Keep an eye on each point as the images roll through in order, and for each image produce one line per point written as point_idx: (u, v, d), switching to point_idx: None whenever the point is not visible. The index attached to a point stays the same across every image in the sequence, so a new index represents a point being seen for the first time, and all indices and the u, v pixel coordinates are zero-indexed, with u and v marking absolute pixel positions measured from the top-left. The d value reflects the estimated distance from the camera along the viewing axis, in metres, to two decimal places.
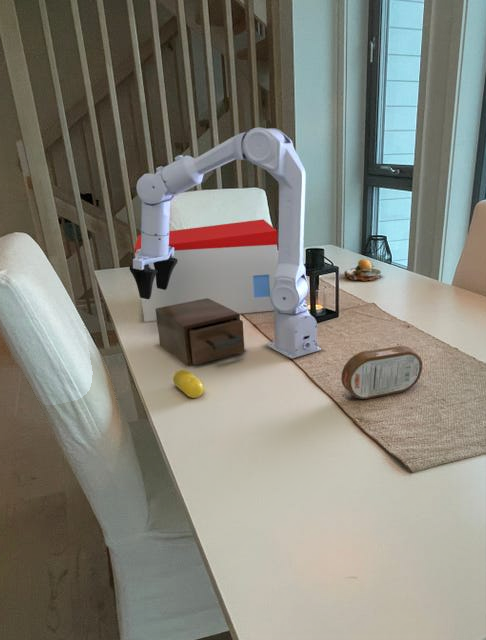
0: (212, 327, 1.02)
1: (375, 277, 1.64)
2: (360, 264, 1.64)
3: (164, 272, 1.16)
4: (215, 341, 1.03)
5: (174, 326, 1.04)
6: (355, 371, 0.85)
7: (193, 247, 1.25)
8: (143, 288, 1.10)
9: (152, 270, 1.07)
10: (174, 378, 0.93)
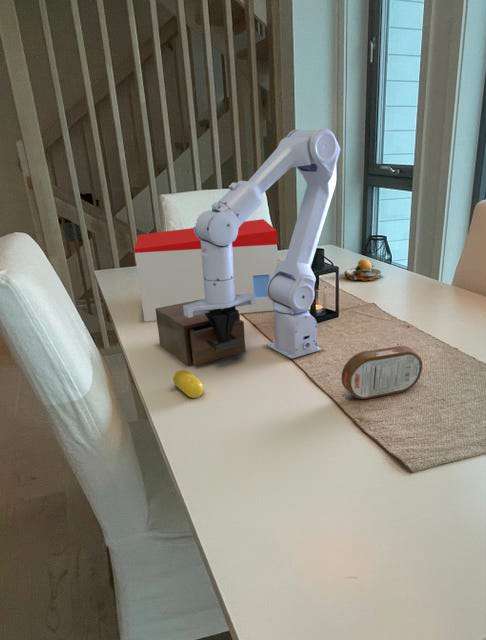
0: None
1: (375, 277, 1.64)
2: (360, 264, 1.64)
3: None
4: (216, 342, 1.02)
5: (174, 326, 1.04)
6: (355, 371, 0.85)
7: (193, 247, 1.25)
8: (218, 334, 1.00)
9: (220, 315, 0.97)
10: (174, 378, 0.93)
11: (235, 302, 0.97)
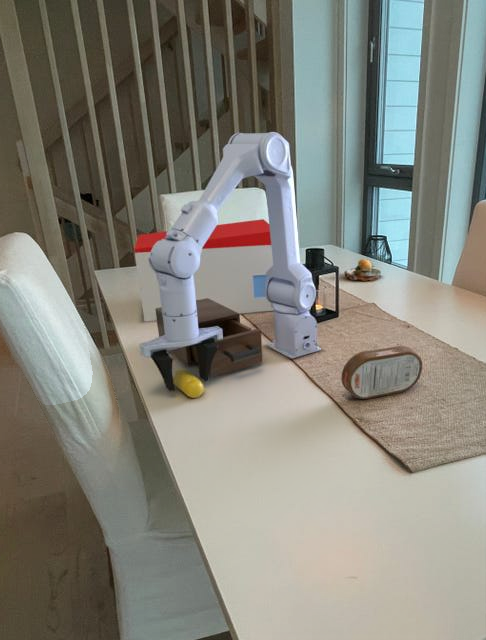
0: (229, 337, 0.96)
1: (375, 277, 1.64)
2: (360, 264, 1.64)
3: (203, 359, 0.92)
4: (232, 352, 0.97)
5: None
6: (355, 371, 0.85)
7: None
8: (165, 377, 0.89)
9: (165, 357, 0.85)
10: (174, 378, 0.93)
11: (198, 338, 0.87)
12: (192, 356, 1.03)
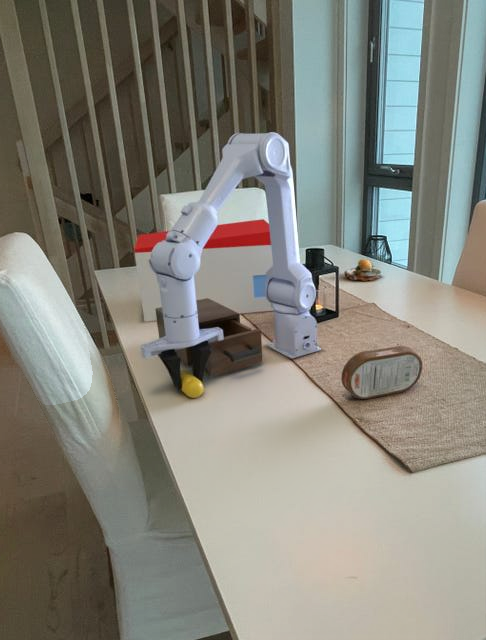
0: (229, 337, 0.96)
1: (375, 277, 1.64)
2: (360, 264, 1.64)
3: (196, 362, 0.91)
4: (232, 352, 0.97)
5: None
6: (355, 371, 0.85)
7: None
8: (173, 376, 0.90)
9: (173, 357, 0.86)
10: None
11: (199, 340, 0.88)
12: None
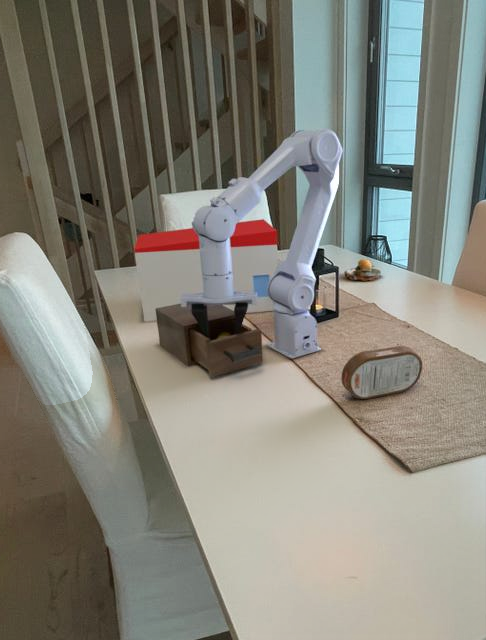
0: (230, 337, 0.96)
1: (375, 277, 1.64)
2: (360, 264, 1.64)
3: None
4: (233, 352, 0.97)
5: (174, 326, 1.04)
6: (355, 371, 0.85)
7: (193, 247, 1.25)
8: None
9: (198, 310, 0.97)
10: None
11: (227, 299, 0.96)
12: (192, 356, 1.03)
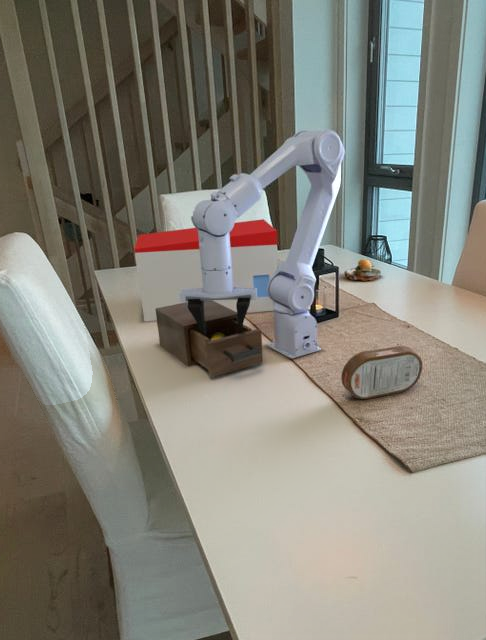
0: (230, 337, 0.96)
1: (375, 277, 1.64)
2: (360, 264, 1.64)
3: None
4: (233, 352, 0.97)
5: (174, 326, 1.04)
6: (355, 371, 0.85)
7: (193, 247, 1.25)
8: None
9: (194, 305, 0.96)
10: None
11: (227, 294, 0.95)
12: (192, 356, 1.03)
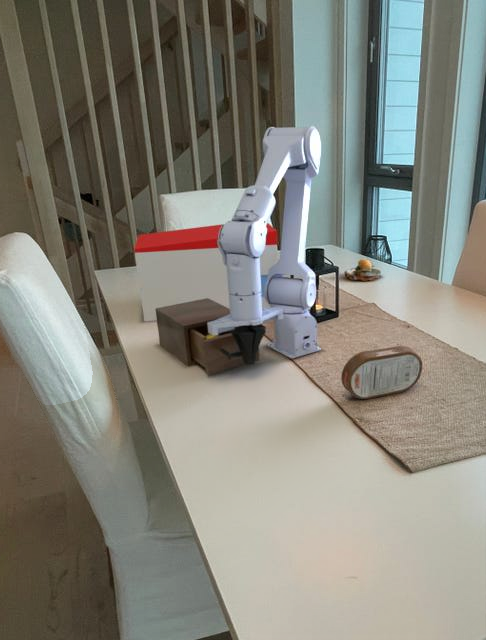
0: (227, 335, 0.97)
1: (375, 277, 1.64)
2: (360, 264, 1.64)
3: None
4: (230, 350, 0.98)
5: (174, 326, 1.04)
6: (355, 371, 0.85)
7: (193, 247, 1.25)
8: None
9: None
10: None
11: None
12: (190, 354, 1.04)
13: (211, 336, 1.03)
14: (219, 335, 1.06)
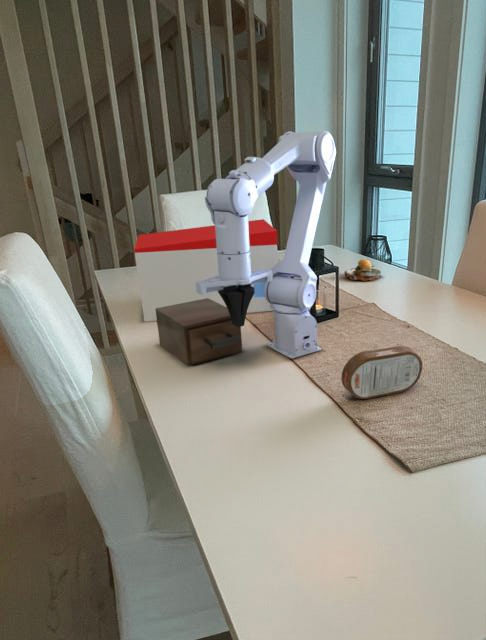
0: (210, 326, 1.02)
1: (375, 277, 1.64)
2: (360, 264, 1.64)
3: None
4: (213, 340, 1.03)
5: (174, 326, 1.04)
6: (355, 371, 0.85)
7: (193, 247, 1.25)
8: None
9: None
10: None
11: None
12: None
13: None
14: None
